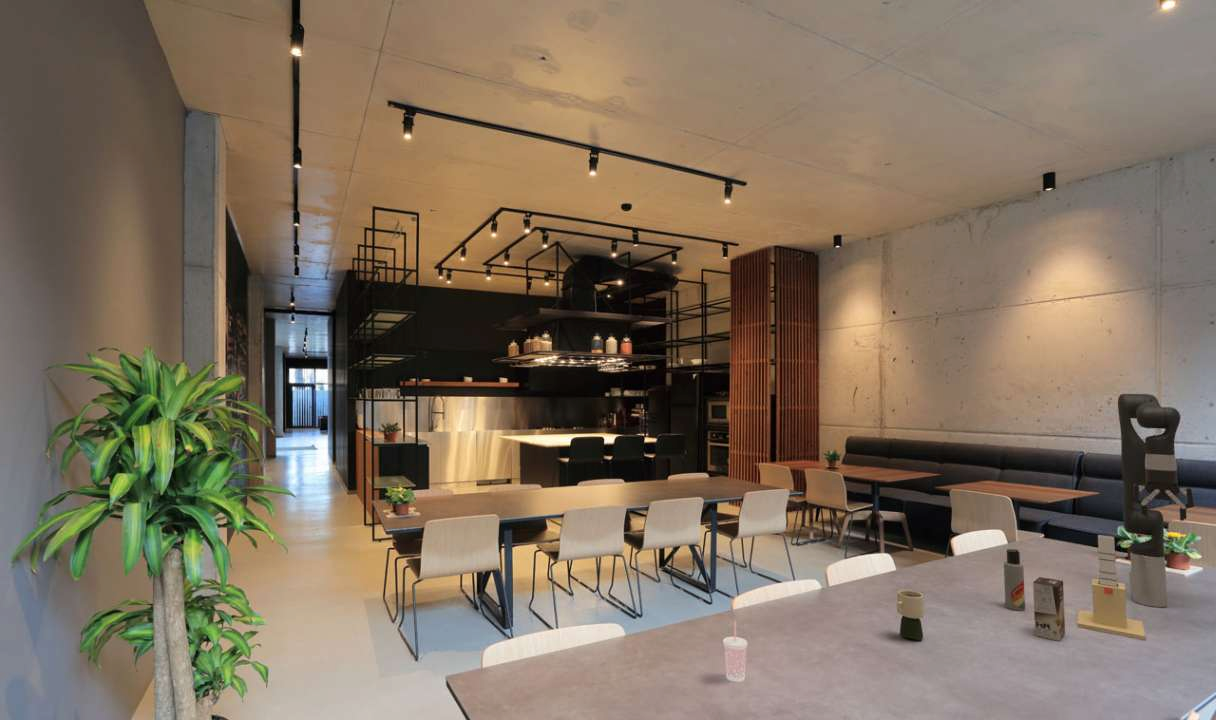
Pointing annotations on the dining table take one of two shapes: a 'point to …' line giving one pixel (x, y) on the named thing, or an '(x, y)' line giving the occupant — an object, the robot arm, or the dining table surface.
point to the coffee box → (1049, 608)
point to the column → (1107, 560)
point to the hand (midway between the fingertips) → (1163, 518)
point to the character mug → (910, 613)
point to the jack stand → (1110, 612)
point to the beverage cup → (735, 657)
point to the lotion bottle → (1014, 581)
